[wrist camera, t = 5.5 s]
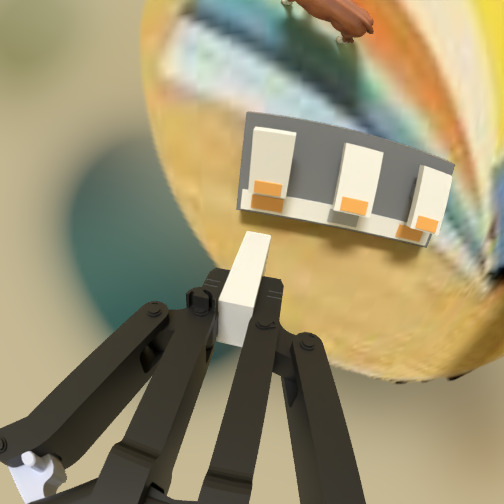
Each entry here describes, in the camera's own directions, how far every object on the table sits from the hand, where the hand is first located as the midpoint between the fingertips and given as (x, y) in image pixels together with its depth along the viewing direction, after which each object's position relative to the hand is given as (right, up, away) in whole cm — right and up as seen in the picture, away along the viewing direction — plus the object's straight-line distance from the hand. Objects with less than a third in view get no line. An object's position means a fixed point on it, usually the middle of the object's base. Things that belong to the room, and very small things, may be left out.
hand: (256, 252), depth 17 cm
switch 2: (+19, +6, +8) cm, 22 cm away
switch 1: (+2, +9, +9) cm, 13 cm away
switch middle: (+10, +7, +9) cm, 15 cm away
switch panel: (+11, +9, +13) cm, 19 cm away
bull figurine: (+6, +27, +3) cm, 28 cm away
